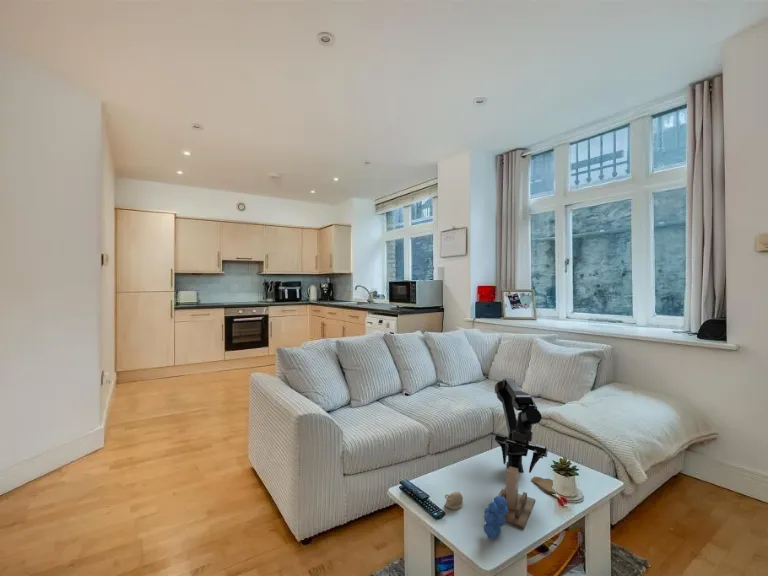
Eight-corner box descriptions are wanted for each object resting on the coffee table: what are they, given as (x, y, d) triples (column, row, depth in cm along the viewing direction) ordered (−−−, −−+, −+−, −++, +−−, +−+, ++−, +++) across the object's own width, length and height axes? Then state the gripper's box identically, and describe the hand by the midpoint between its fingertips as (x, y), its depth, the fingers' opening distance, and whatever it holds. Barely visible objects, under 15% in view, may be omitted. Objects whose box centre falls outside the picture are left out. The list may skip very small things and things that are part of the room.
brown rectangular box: (505, 507, 129) (506, 471, 129) (509, 501, 132) (509, 466, 132) (514, 510, 127) (515, 473, 127) (517, 504, 131) (518, 468, 130)
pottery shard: (526, 486, 147) (562, 502, 134) (525, 480, 147) (562, 495, 135) (538, 480, 152) (574, 494, 139) (537, 474, 152) (574, 488, 139)
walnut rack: (502, 491, 141) (502, 480, 141) (535, 501, 134) (535, 491, 134) (487, 516, 126) (487, 504, 126) (523, 529, 119) (523, 517, 119)
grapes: (494, 520, 124) (494, 485, 123) (512, 530, 119) (513, 494, 118) (473, 535, 116) (473, 498, 116) (492, 547, 111) (492, 509, 111)
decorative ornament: (466, 506, 131) (466, 492, 131) (446, 513, 127) (447, 497, 127) (459, 500, 135) (459, 486, 134) (440, 506, 131) (440, 491, 131)
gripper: (496, 415, 144) (487, 456, 137) (547, 427, 134) (541, 473, 127) (501, 422, 152) (493, 461, 145) (550, 435, 142) (544, 478, 135)
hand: (516, 468), depth 138 cm, fingers open, 9 cm apart
